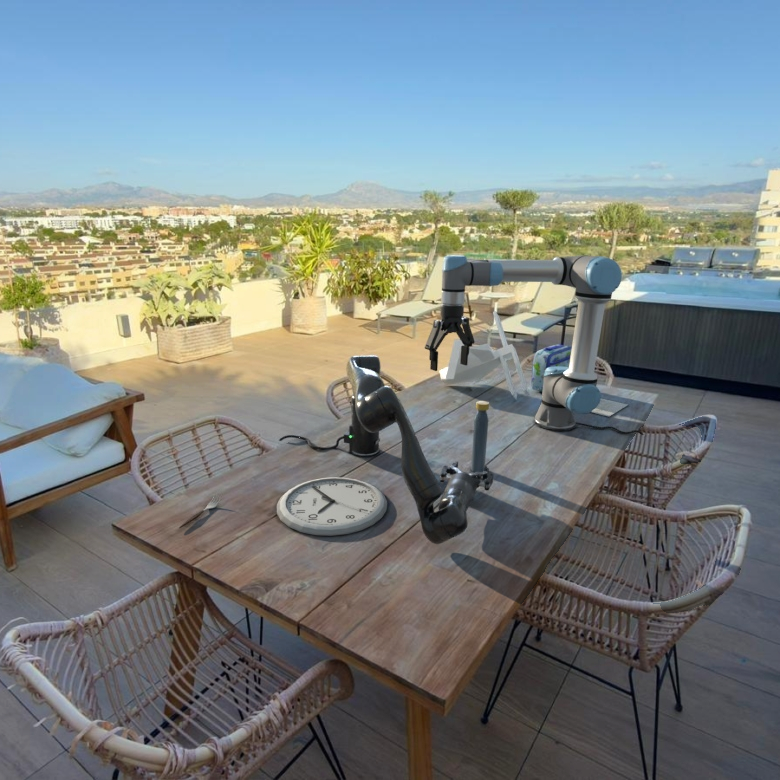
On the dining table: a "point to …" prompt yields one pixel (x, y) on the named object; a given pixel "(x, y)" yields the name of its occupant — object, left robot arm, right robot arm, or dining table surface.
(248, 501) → the dining table surface
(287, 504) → the wall clock
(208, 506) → the fork
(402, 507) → the dining table surface
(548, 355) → the lunch box
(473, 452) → the bottle
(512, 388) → the white plastic object
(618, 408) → the invitation card
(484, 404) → the cap
